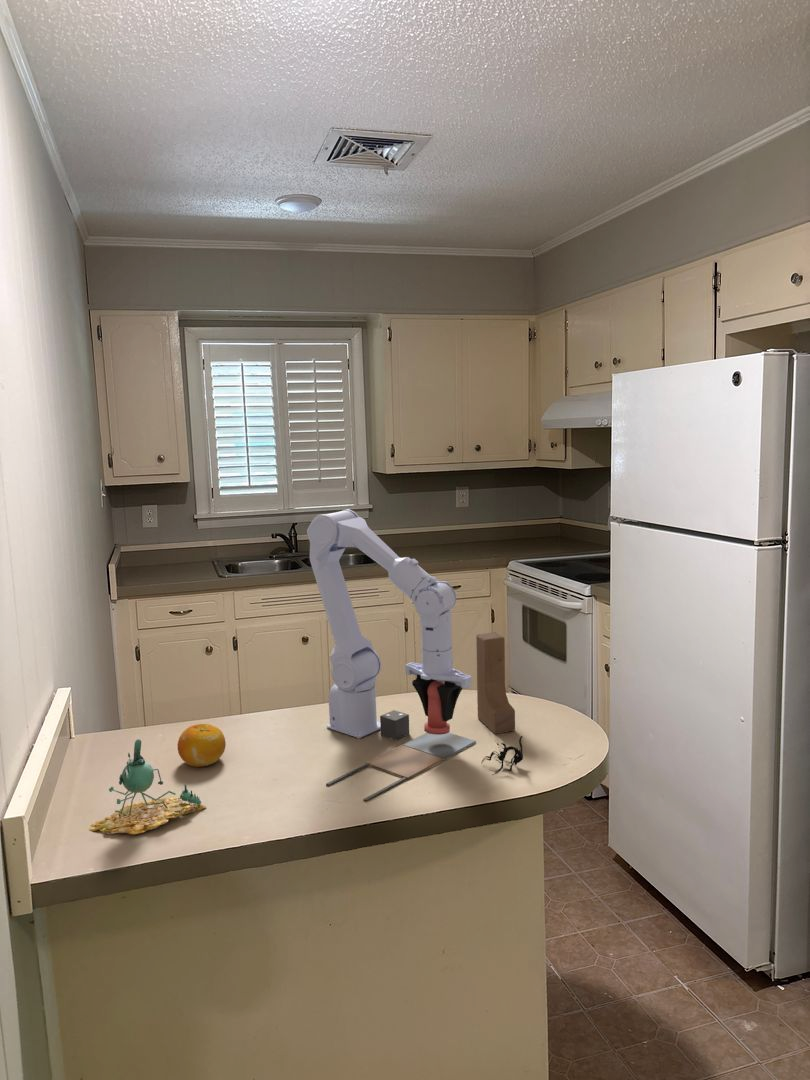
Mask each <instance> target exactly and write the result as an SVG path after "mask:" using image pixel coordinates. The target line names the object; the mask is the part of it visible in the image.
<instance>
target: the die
mask: <svg viewBox="0 0 810 1080" xmlns="http://www.w3.org/2000/svg"><path fill="white" fill-rule="evenodd" d="M379 720H380V721H379V722H380V726H381V729H380V736H381V737H385V738H388V739H391V740H393V741H397V740H399V739H402V738H404V737H406V736H408V735H410V715H409V714H408V713H404V712H403V711H402V712H401V711H399V710H395V709H393V710H391V711H389V712H386V713H384V714H382V715H380V716H379Z"/></svg>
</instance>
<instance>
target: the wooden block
mask: <svg viewBox="0 0 810 1080" xmlns="http://www.w3.org/2000/svg"><path fill="white" fill-rule="evenodd" d="M475 637H476V642H475V643H476V687H477V688H476V689H477V691H476V693H477V697H476V698H477V699H476V700H477V701H476V702H477V719H478V720H479V721H480V722H481V723H482V724H484V726H485V727H487V728H488V730H490V731H491V732H493V733H494V734H495V735H496V734H503V733H510V732H515V731H516V710H515V708H514V707H513V706H512V705H511V704H510V702H509V699H508V696H507V690H506V664H505V662H506V660H505V659H506V658H505V656H506V655H505V654H506V653H505V651H506V650H505V648H506V647H505V645H506V644H505V642H506V641H505V637H504V636H502V635H501V634H499V633H497V632H487V633H486V632H485V633H480V634H476V636H475Z"/></svg>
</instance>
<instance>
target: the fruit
mask: <svg viewBox="0 0 810 1080" xmlns="http://www.w3.org/2000/svg"><path fill="white" fill-rule="evenodd" d="M226 745H227V742H226V738H225V735H224V732H223V731H222V730H221V729H220V728H218V727H217V726H215V725H212V724H209V723H199V724H193V725H190V726H189V727H187V728H185V730H184V731H182V733H181V734H180V736H179V737H178V742H177V752H178V755H179V757H180V759H181V760H182V761H183V762H184V763H185V764H186V765H188V766H190V767H196V768H200V767H201V768H202V767H207V766H210V765H214V763H216V762H218V761H219V760H220V758H221V757H222V756H223V754H224V753H225V750H226Z"/></svg>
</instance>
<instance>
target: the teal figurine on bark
mask: <svg viewBox="0 0 810 1080" xmlns="http://www.w3.org/2000/svg"><path fill="white" fill-rule="evenodd" d="M133 745H134V747H133V749H134V750H133V758H131V754H130V752H128V753H127V756H128V758H129V759H128V760H127V761H126V765H125V766H124V768H123V770H122V772H121V773H120V774H119V775H120V776H119V781H118V785H120V786H121V785H123V787H124V788H125V789H126V790H127V791H126V792H125V793H124V792H122V791H120V790H117V789H114V786H111V787H109V789H108V791H109V792H110V793H112V792H116V793H119V794H121V795H124V796H125V798H124V799H120V798H117V799H116V804H117V805H121V804H122V806H121V807H122V808H120V809H119V810H114V813H112V814H111V815H110V816H107V817H104V818H103V819H102V820H97V821H95V823H92V824H91V826H90V828H88V830H90V831H91V832H96V831H100V832H102V833H103V834H104V833H106V834H108V835H113V834H120V833H122V834H129V835H137V834H143V833H146V832H147V831H150V830H154V829H157V828H158V827H160V826H162V825H164V824H166V823H168V822H169V820H170V819H175V818H177V817H179V816H186V815H188V813H196V812H199V811H202V810H203V809H206V808H207V806H206V805H205V804H202V801H201V800H200V798H199V795H196V793H194V794H193V790H190V791H189V789H188V788H187V784H184V788H182V789H181V794H180V796H179V797H178V796H175V795H176V793H175V792H173V791H170V790H168V791H167V792H165V793H164V794H162V795H160V796H158V798H154V797H152V796H150V795H149V794H146V793H144V792H146V791H147V790H148V789H150V788H151V786H152V785H153V783H154V779H155V774H154V773H155V772H154V771H157V774H158V778H159V781H158V782H157V784H158V785H163V784H164V781H162V777H161V773H160V770H159V769H158V768H153V767H152V765H151V764H150V763H149V762H148V761H146V760H145V758H144V757H143V756H142V755H141V749H142V740H141V739H139V738H138V739H136V740H135V741H134V744H133ZM139 793H140V795H141V796H142V799H143V800H142V801H140V802H139V801H138V802H134V803H133V801H134V799H135V797H136V795H137V794H139ZM132 794H133V795H132ZM167 794H172V795H174V796H175V797H164V796H165V795H167ZM130 795H132V796H131V797H130ZM128 796H129V797H128ZM145 797H147V798H149V799H151V800H146V798H145ZM129 799H131V802H130V803H128V804H127V805H125V804H126V801H127V800H129ZM122 802H123V803H122ZM186 802H188V803H186Z"/></svg>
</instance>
